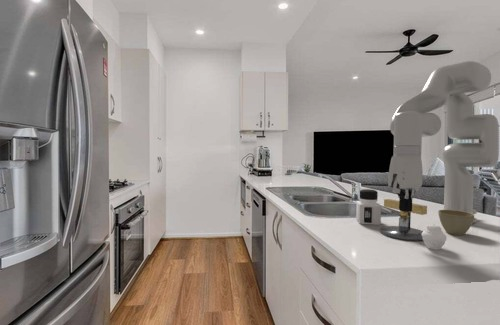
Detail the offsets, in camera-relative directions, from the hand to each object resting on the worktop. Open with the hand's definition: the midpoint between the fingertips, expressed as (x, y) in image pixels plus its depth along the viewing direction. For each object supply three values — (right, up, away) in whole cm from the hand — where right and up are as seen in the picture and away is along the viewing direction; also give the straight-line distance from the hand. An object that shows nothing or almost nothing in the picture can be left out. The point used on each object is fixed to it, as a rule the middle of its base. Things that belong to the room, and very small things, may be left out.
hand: (405, 210), depth 86 cm
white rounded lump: (+5, -10, -6) cm, 13 cm away
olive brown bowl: (+22, -10, +9) cm, 26 cm away
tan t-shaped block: (+3, -4, +7) cm, 9 cm away
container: (-2, -9, +24) cm, 25 cm away
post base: (+3, -9, +7) cm, 12 cm away
